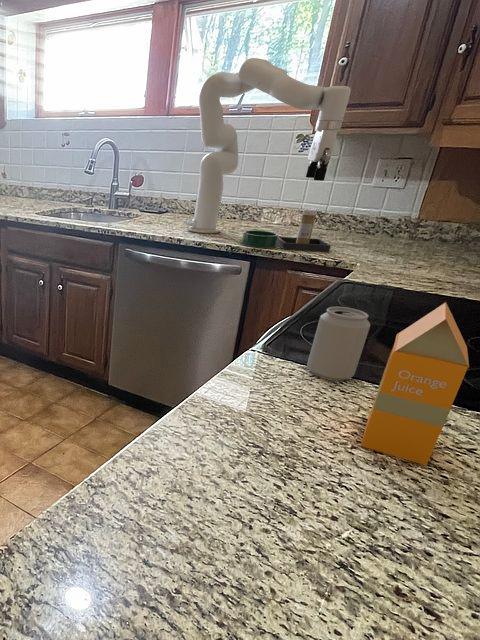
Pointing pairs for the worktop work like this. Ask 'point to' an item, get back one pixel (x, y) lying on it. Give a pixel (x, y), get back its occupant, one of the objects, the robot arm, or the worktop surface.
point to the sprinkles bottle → (306, 226)
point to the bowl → (259, 239)
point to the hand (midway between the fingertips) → (314, 178)
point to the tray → (303, 245)
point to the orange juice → (418, 388)
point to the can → (338, 343)
